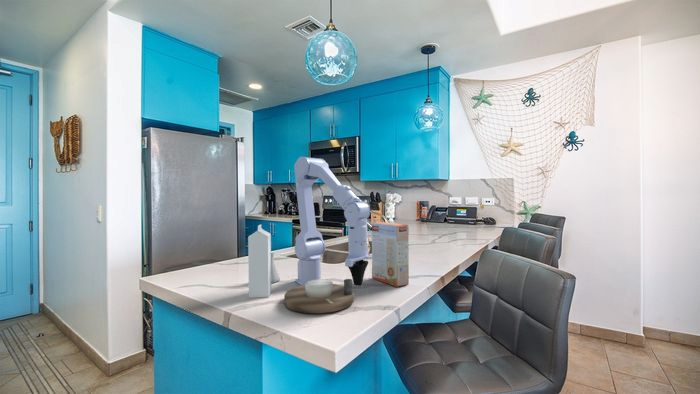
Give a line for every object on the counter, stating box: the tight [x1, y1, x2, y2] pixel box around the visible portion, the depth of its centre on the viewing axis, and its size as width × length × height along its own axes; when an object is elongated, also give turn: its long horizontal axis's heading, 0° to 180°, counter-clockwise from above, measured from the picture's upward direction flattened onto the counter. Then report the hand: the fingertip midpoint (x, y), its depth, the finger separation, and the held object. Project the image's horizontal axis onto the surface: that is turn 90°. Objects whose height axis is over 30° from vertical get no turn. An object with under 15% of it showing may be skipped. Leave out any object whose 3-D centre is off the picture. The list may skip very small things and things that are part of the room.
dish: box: [305, 279, 334, 298], centre depth 93 cm, size 8×8×3 cm
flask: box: [271, 252, 281, 284], centre depth 115 cm, size 7×7×10 cm
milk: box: [247, 223, 272, 299], centre depth 100 cm, size 6×6×22 cm
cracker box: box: [371, 221, 410, 288], centre depth 113 cm, size 14×6×21 cm, turn 33°
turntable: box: [283, 278, 354, 314], centre depth 93 cm, size 20×20×6 cm
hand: (357, 284), depth 98 cm, fingers closed
